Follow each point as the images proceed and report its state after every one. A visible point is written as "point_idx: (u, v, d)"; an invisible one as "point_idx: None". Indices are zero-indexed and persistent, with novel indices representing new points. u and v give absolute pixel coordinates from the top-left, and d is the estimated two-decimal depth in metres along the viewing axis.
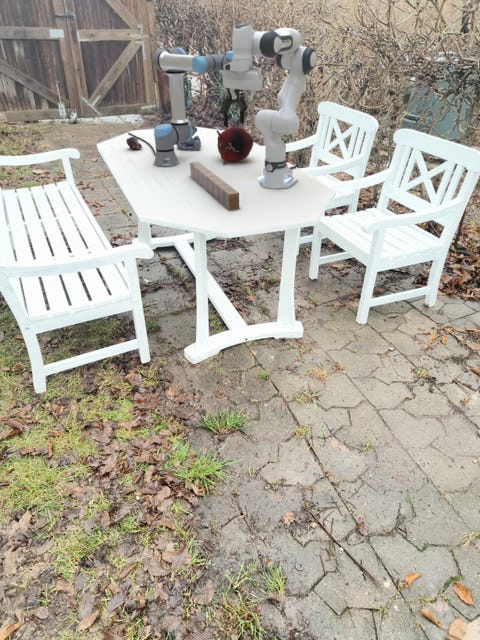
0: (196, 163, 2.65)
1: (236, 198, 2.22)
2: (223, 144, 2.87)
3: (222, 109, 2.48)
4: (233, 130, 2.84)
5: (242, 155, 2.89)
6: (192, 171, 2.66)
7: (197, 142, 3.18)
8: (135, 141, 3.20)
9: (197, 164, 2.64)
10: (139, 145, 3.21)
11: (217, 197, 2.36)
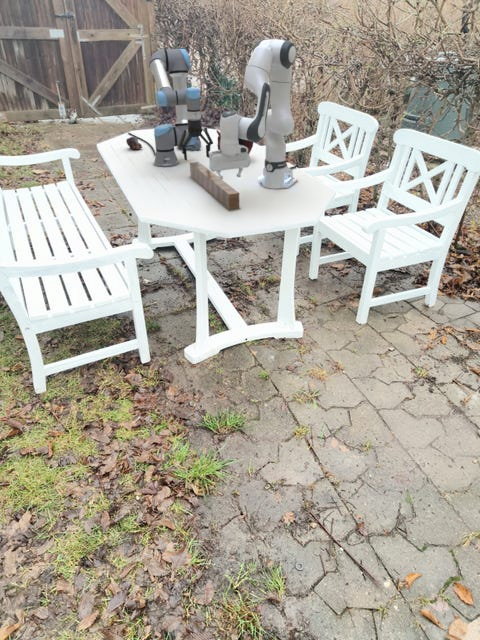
0: (196, 163, 2.65)
1: (236, 198, 2.22)
2: None
3: (179, 143, 2.53)
4: None
5: None
6: (192, 171, 2.66)
7: (197, 142, 3.18)
8: (135, 141, 3.20)
9: (197, 164, 2.64)
10: (139, 145, 3.21)
11: (217, 197, 2.36)
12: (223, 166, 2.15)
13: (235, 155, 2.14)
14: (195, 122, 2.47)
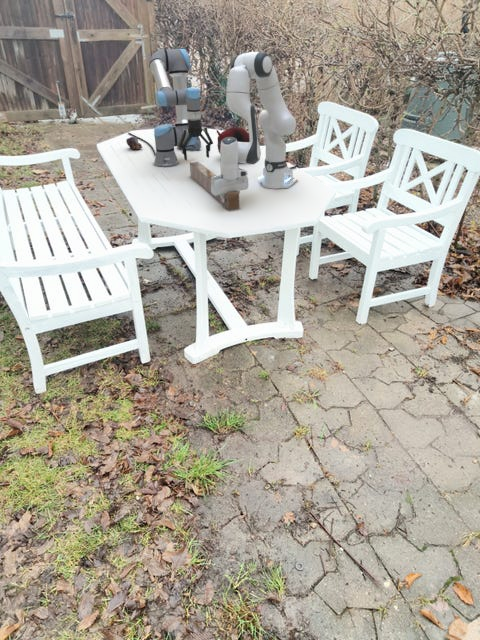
0: (196, 163, 2.65)
1: (236, 198, 2.22)
2: None
3: (179, 143, 2.53)
4: (233, 130, 2.84)
5: None
6: (192, 171, 2.66)
7: (197, 142, 3.18)
8: (135, 141, 3.20)
9: (197, 164, 2.64)
10: (139, 145, 3.21)
11: (217, 197, 2.36)
12: (224, 190, 2.21)
13: (235, 179, 2.21)
14: (195, 122, 2.47)
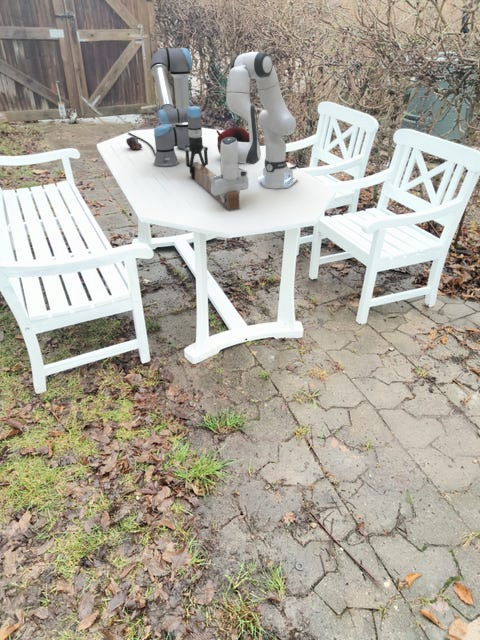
0: (196, 163, 2.65)
1: (236, 198, 2.22)
2: None
3: (186, 163, 2.60)
4: (233, 130, 2.84)
5: None
6: None
7: None
8: (135, 141, 3.20)
9: (197, 164, 2.64)
10: (139, 145, 3.21)
11: (217, 197, 2.36)
12: (224, 190, 2.21)
13: (235, 179, 2.21)
14: (196, 140, 2.52)
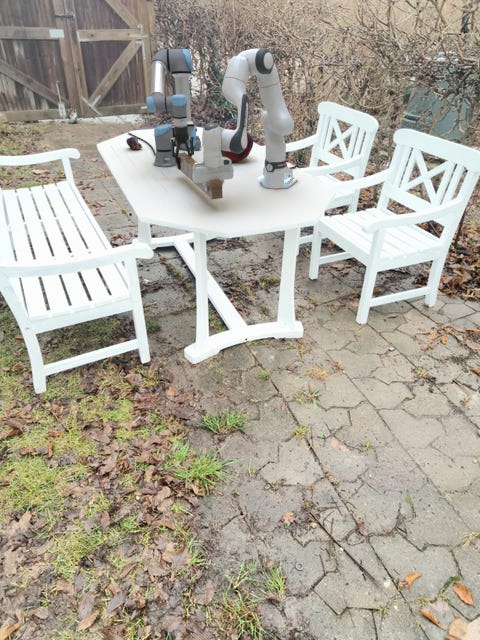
0: (182, 153, 2.59)
1: (218, 186, 2.16)
2: None
3: (172, 153, 2.54)
4: None
5: (242, 155, 2.89)
6: None
7: (197, 142, 3.18)
8: (135, 141, 3.20)
9: (183, 154, 2.57)
10: (139, 145, 3.21)
11: (201, 186, 2.29)
12: (206, 178, 2.14)
13: (218, 167, 2.13)
14: (181, 129, 2.46)
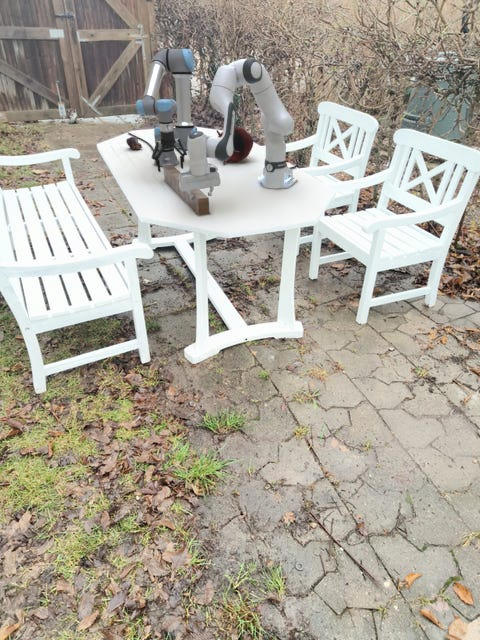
0: (169, 166, 2.60)
1: (205, 202, 2.17)
2: None
3: (152, 155, 2.50)
4: None
5: (242, 155, 2.89)
6: (166, 175, 2.60)
7: None
8: (135, 141, 3.20)
9: (171, 167, 2.58)
10: (139, 145, 3.21)
11: (188, 201, 2.31)
12: (193, 186, 2.14)
13: (204, 175, 2.12)
14: (167, 134, 2.44)
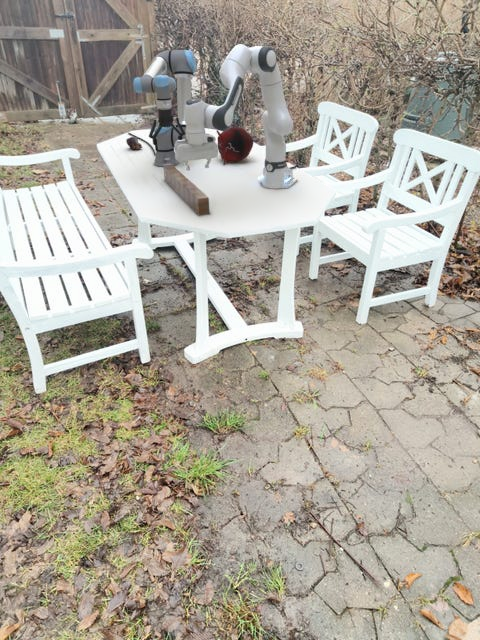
0: (169, 166, 2.60)
1: (205, 202, 2.17)
2: (223, 144, 2.87)
3: (150, 133, 2.43)
4: (233, 130, 2.84)
5: (242, 155, 2.89)
6: (166, 175, 2.60)
7: None
8: (135, 141, 3.20)
9: (171, 167, 2.58)
10: (139, 145, 3.21)
11: (188, 201, 2.31)
12: (189, 156, 2.06)
13: (201, 145, 2.04)
14: (165, 111, 2.37)
